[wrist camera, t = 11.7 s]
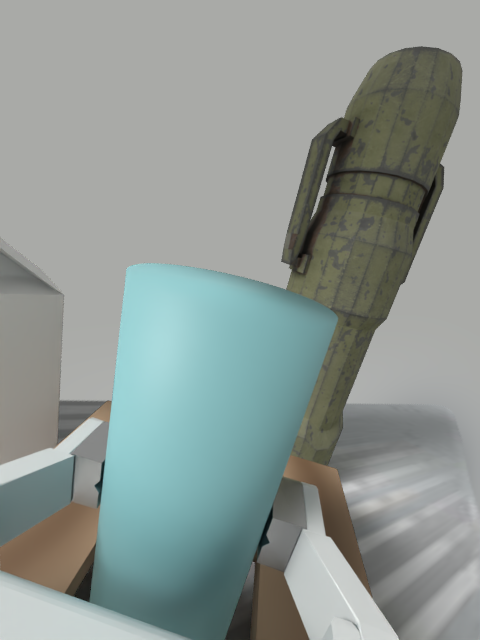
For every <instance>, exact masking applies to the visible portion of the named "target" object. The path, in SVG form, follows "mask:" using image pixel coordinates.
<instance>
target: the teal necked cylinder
mask: <svg viewBox="0 0 480 640" xmlns="http://www.w3.org/2000/svg"><path fill="white" fill-rule="evenodd" d="M337 322H338V317H337V315H336V314H335V313H334V312H333V311H332V310H330V309H329V308H327V307H325V306H324V305H322V304H320V303H318V302H316V301H314V300H311V299H309V298H307V297H304V296H302V295H299V294H296V293H294V292H291V291H288V290H285V289H282V288H279V287H276V286H273V285H269V284H266V283H263V282H259V281H255V280H251V279H248V278H244V277H240V276H235V275H231V274H227V273H222V272H217V271H212V270H207V269H201V268H194V267H187V266H180V265H170V264H155V263H152V264H151V263H149V264H148V263H147V264H136V265H132V266H130V267H128V268H127V270H126V279H125V288H124V297H123V306H122V315H121V324H120V333H119V342H118V351H117V360H116V369H115V378H114V387H113V397H112V405H111V413H110V422H109V431H108V440H107V449H106V458H105V467H104V476H103V485H102V494H101V503H100V512H99V521H98V530H97V539H96V548H95V557H94V566H93V575H92V584H91V593H90V603H93V604H95V605H98V606H101V607H104V608H106V609H109V610H112V611H115V612H118V613H120V614H123V615H126V616H129V617H132V618H134V619H137V620H140V621H143V622H145V623H148V624H151V625H154V626H157V627H159V628H162V629H165V630H168V631H170V632H173V633H176V634H179V635H181V636H184V637H187V638H190V639H193V640H225V637H226V634H227V631H228V629H229V626H230V623H231V620H232V617H233V615H234V612H235V609H236V606H237V603H238V601H239V598H240V595H241V592H242V589H243V586H244V584H245V581H246V578H247V575H248V572H249V570H250V567H251V564H252V561H253V558H254V555H255V553H256V550H257V547H258V544H259V541H260V539H261V536H262V533H263V530H264V527H265V524H266V522H267V519H268V516H269V513H270V510H271V508H272V505H273V502H274V499H275V496H276V493H277V491H278V488H279V485H280V482H281V479H282V477H283V474H284V471H285V468H286V465H287V462H288V460H289V457H290V454H291V451H292V448H293V446H294V443H295V440H296V437H297V434H298V431H299V429H300V426H301V423H302V420H303V417H304V415H305V412H306V409H307V406H308V403H309V401H310V398H311V395H312V392H313V389H314V386H315V384H316V381H317V378H318V375H319V372H320V370H321V367H322V364H323V361H324V358H325V355H326V353H327V350H328V347H329V344H330V341H331V339H332V336H333V333H334V330H335V327H336V324H337Z"/></svg>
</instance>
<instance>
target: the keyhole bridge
mask: <svg viewBox="0 0 480 640" xmlns="http://www.w3.org/2000/svg"><path fill="white" fill-rule="evenodd" d="M111 405H112V401H107V402H105V403H104V404H103V405H102V406H101V407H100V408H99V409H98V410H96V411H95V412H94V413H93V414H92V415H91V416H90V417H88V418H87V419H86V420H88V419H90V418H92V417H94V418H96V419H99V420H102V421H105V422H110V413H111ZM86 420H85V421H86ZM85 421H84V422H85ZM84 422H83V423H84ZM83 423H82V424H83ZM82 424H81V425H82ZM81 425H79V426H78V427H77V428H79V427H80V426H81ZM77 428H76V429H77ZM76 429H75V430H76ZM75 430H74V431H75ZM74 431H73V432H74ZM73 432H71V433H70V434H69V435H71V434H72V433H73ZM69 435H68V436H69ZM68 436H67V437H68ZM67 437H66V438H67ZM66 438H65V439H66ZM65 439H63V440H62V441H61V442H63V441H64V440H65ZM61 442H60V443H61ZM60 443H59V444H60ZM59 444H58V445H59ZM58 445H57V446H58ZM57 446H56V447H57ZM56 447H54V448H53V449H55V448H56ZM283 476H284V477H287V478H290V479H294V480H297V481H300V482H304V483H308V484H311V485H315V486H316V487H317V489H318V494H319V499H320V505H321V511H322V516H323V522H324V528H325V533H326V536H327V537H330V538H331V539H332V540H333V542H334V543H335V545H336V546H337V548H338V549H339V550H340V552H341V553H342V555H343V556H344V558H345V559H346V561H347V562H348V564H349V565H350V567H351V568H352V570H353V571H354V572H355V574H356V575H357V577H358V578H359V580H360V581H361V583H362V584H363V586H364V587H365V589H366V590H367V592H368V593H369V595H370V596H371V597H372V594H371V591H370V587H369V583H368V580H367V576H366V572H365V569H364V565H363V561H362V558H361V554H360V550H359V547H358V543H357V540H356V536H355V532H354V529H353V525H352V521H351V518H350V514H349V510H348V507H347V503H346V499H345V496H344V492H343V488H342V485H341V481H340V478H339V474H338V470H337V469H336V468H332V467H329V466H326V465H322V464H319V463H315V462H312V461H309V460H305V459H302V458H299V457H295V456H292V455H290V457H289V460H288V462H287V465H286V468H285V471H284V474H283ZM99 512H100V505H99V506H98V508H97V509H95V508H91V507H88V506H85V505H81V504H78V503H75V502H71V503H70V504H69V505H67V506H65V507H64V508H62V509H61V510H59V511H57V512H56V513H54V514H53V515H51V516H49V517H48V518H46V519H44V520H43V521H41V522H40V523H38V524H36V525H35V526H33V527H32V528H30V529H28V530H27V531H25V532H24V533H22V534H20V535H19V536H17V537H15V538H14V539H12V540H11V541H9V542H7V543H6V544H4V545H3V546H1V547H0V570H1V571H4V572H6V573H9V574H12V575H15V576H17V577H20V578H23V579H26V580H29V581H31V582H34V583H37V584H40V585H42V586H45V587H48V588H51V589H54V590H56V591H59V592H62V593H65V594H67V595H70V596H74V594H75V592H76V591H77V589H78V587H79V585H80V584H81V582H82V580H83V579H84V577H85V575H86V574H87V572H88V570H89V569H90V567H91V565H92V563H93V562H94V557H95V548H96V539H97V530H98V521H99ZM257 549H258V547H257ZM253 562H255V574H254V588H253V602H252V616H251V630H250V640H310V639H309V637H308V634H307V632H306V629H305V627H304V624H303V621H302V619H301V616H300V614H299V611H298V609H297V606H296V604H295V601H294V599H293V596H292V594H291V591H290V589H289V586H288V584H287V581H286V579H285V576H284V572H281V571H279V570H276V569H273V568H271V567H268V566H265V565H262V564H260V563H257V550H256V553H255V555H254V558H253ZM372 599H373V598H372Z"/></svg>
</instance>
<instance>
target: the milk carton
mask: <svg viewBox="0 0 480 640" xmlns="http://www.w3.org/2000/svg"><path fill="white" fill-rule="evenodd" d="M63 308H64V294H63V293H62V292H61V291H60V290H59V289H58V288H57V287H56V285H55V284H54V283H53V282H52V281H51V280H50V278H49V277H48V276H47V275H46V274H45V273H44V272H43V271H42V270H41V269H40V268H39V267H38V266H36V265H35V264H34V263H32V262H31V261H30V260H28V259H27V258H26V257H24V256H23V255H22V254H21V253H19V252H18V251H17V250H15V249H14V248H13V247H12V246H10V245H9V244H8V243H6V242H5V241H4V240H3V239H1V238H0V465H2V464H5V463H8V462H11V461H14V460H16V459H19V458H22V457H25V456H28V455H31V454H33V453H36V452H39V451H42V450H45V449H48V448H52V449H53V448H54V447H56V446H57V440H58V418H59V395H60V374H61V352H62V330H63Z"/></svg>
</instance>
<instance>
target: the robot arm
mask: <svg viewBox="0 0 480 640" xmlns="http://www.w3.org/2000/svg"><path fill="white" fill-rule="evenodd" d="M108 431H109V422H105V421H102V420H99V419H96V418H94V417H92V418H90V419H88V420H86V421H85V422H84V423H83V424H82V425H81V426H80V427H79V428H77V429H76V430H75V431H74V432H73V433H72V434H71V435H69V436H68V437H67V438H66V439H65V440H64V441H63V442H61V443H60V444H59V445H58V446H57V447H56V448H55V449H52V448H48V449H45V450H42V451H39V452H36V453H33V454H31V455H28V456H25V457H22V458H19V459H16V460H14V461H11V462H8V463H5V464H2V465H0V547H1V546H3V545H4V544H6V543H7V542H9V541H11V540H12V539H14V538H15V537H17V536H19V535H20V534H22V533H24V532H25V531H27V530H28V529H30V528H32V527H33V526H35V525H36V524H38V523H40V522H41V521H43V520H44V519H46V518H48V517H49V516H51V515H53V514H54V513H56V512H57V511H59V510H61V509H62V508H64V507H65V506H67V505H69V504H70V503H71V502H75V503H78V504H81V505H85V506H88V507H91V508H95V509H97V508H98V506H99V505H100V503H101V494H102V485H103V476H104V467H105V458H106V449H107V440H108ZM257 563H260V564H262V565H265V566H268V567H271V568H273V569H276V570H279V571H281V572H284V576H285V579H286V581H287V584H288V586H289V589H290V591H291V594H292V596H293V599H294V601H295V604H296V606H297V609H298V611H299V614H300V616H301V619H302V621H303V624H304V627H305V629H306V632H307V634H308V637H309V639H310V640H399V638H398V636H397V634H396V633H395V631H394V630H393V628H392V627H391V625H390V624H389V622H388V621H387V620H386V618H385V617H384V615H383V614H382V612H381V611H380V609H379V608H378V606H377V605H376V603H375V602H374V600H373V599H372V597H371V596H370V595H369V593H368V592H367V590H366V589H365V587H364V586H363V584H362V583H361V581H360V580H359V578H358V577H357V575H356V574H355V572H354V571H353V570H352V568H351V567H350V565H349V564H348V562H347V561H346V559H345V558H344V556H343V555H342V553H341V552H340V550H339V549H338V548H337V546H336V545H335V543H334V542H333V540H332V539H331V538H330V537H327V536H326V533H325V528H324V522H323V516H322V511H321V505H320V499H319V494H318V489H317V487H316V486H315V485H311V484H308V483H304V482H300V481H297V480H294V479H290V478H287V477H284V476H283V477H282V479H281V482H280V485H279V488H278V491H277V493H276V496H275V499H274V502H273V505H272V508H271V510H270V513H269V516H268V519H267V522H266V524H265V527H264V530H263V533H262V536H261V539H260V541H259V544H258V549H257ZM0 640H193V639H190V638H187V637H184V636H181V635H179V634H176V633H173V632H170V631H168V630H165V629H162V628H159V627H157V626H154V625H151V624H148V623H145V622H143V621H140V620H137V619H134V618H132V617H129V616H126V615H123V614H120V613H118V612H115V611H112V610H109V609H106V608H104V607H101V606H98V605H95V604H93V603H90V602H87V601H84V600H81V599H79V598H76V597H73V596H70V595H67V594H65V593H62V592H59V591H56V590H54V589H51V588H48V587H45V586H42V585H40V584H37V583H34V582H31V581H29V580H26V579H23V578H20V577H17V576H15V575H12V574H9V573H6V572H4V571H1V570H0Z"/></svg>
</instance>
